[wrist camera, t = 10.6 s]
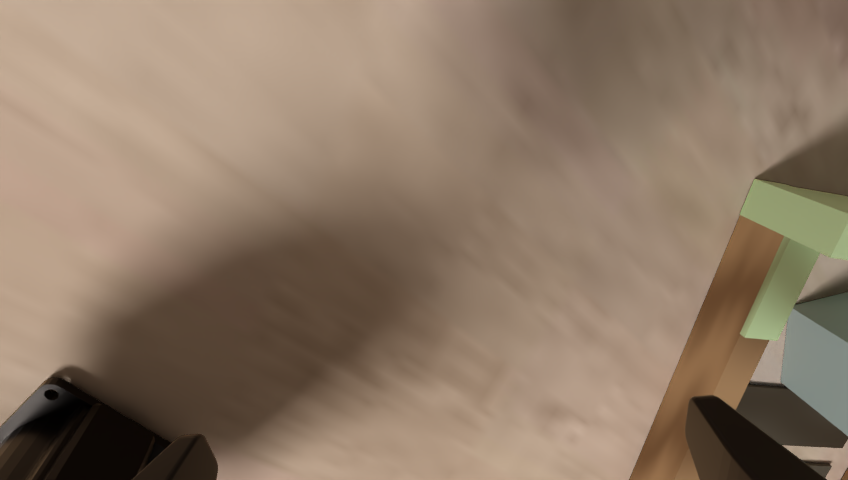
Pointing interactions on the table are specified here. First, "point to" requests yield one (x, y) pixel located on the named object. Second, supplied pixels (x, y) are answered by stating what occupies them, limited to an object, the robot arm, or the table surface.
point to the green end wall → (801, 215)
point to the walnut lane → (739, 355)
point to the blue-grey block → (819, 356)
